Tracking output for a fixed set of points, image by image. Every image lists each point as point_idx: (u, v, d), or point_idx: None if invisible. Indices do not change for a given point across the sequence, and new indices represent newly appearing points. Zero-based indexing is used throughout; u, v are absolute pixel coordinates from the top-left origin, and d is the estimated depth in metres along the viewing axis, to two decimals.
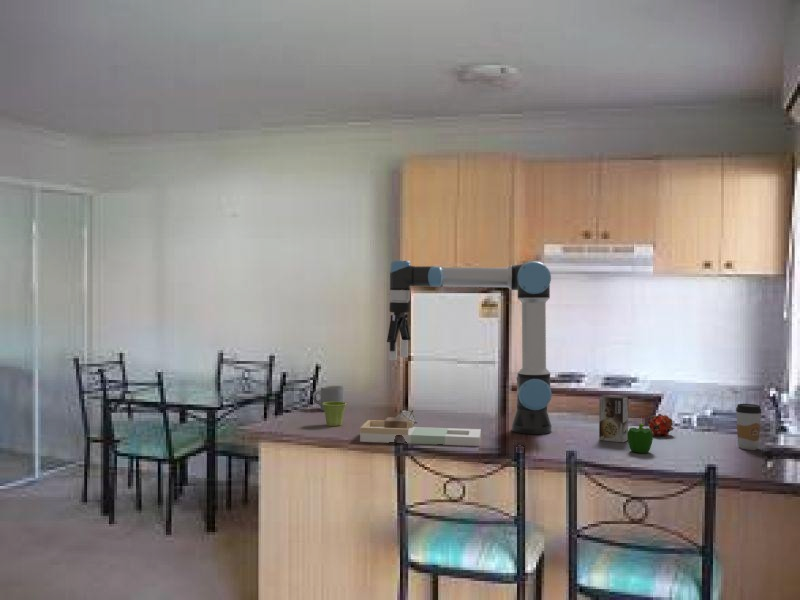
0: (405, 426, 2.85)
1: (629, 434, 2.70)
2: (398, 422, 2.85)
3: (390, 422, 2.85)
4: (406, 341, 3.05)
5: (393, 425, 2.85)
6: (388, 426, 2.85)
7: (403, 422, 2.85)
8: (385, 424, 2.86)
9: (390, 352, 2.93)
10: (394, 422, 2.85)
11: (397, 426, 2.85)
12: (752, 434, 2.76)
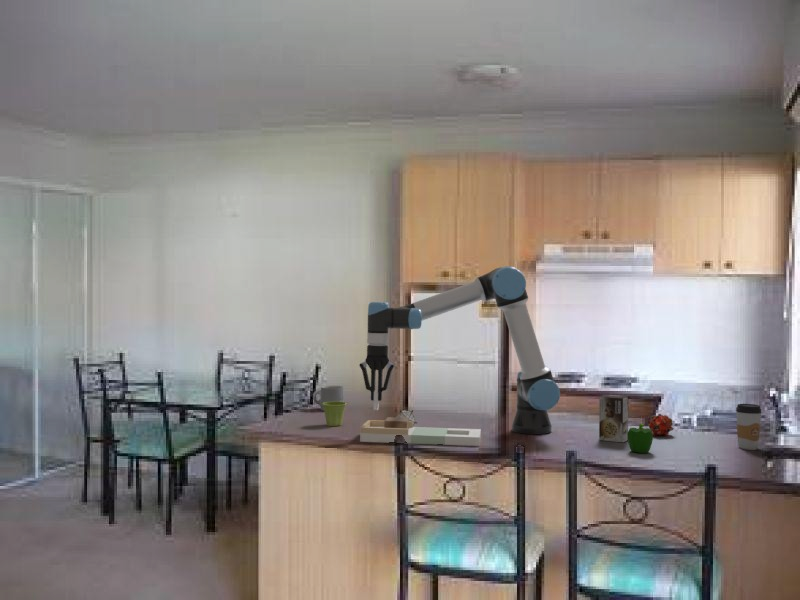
0: (405, 426, 2.85)
1: (629, 434, 2.70)
2: (398, 422, 2.85)
3: (390, 422, 2.85)
4: None
5: (393, 425, 2.85)
6: (388, 426, 2.85)
7: (403, 422, 2.85)
8: (385, 424, 2.86)
9: None
10: (394, 422, 2.85)
11: (397, 426, 2.85)
12: (752, 434, 2.76)
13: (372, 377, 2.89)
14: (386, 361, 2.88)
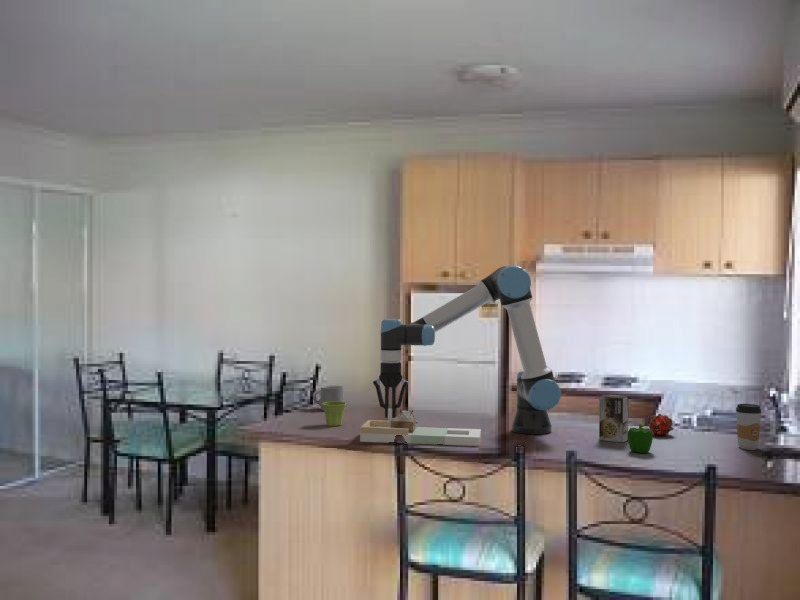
0: (411, 426, 2.84)
1: (629, 434, 2.70)
2: (404, 422, 2.85)
3: (396, 422, 2.85)
4: None
5: (399, 425, 2.85)
6: (394, 426, 2.85)
7: (409, 422, 2.84)
8: (391, 424, 2.85)
9: None
10: (400, 422, 2.85)
11: (403, 426, 2.85)
12: (752, 434, 2.76)
13: (386, 394, 2.88)
14: (400, 378, 2.88)
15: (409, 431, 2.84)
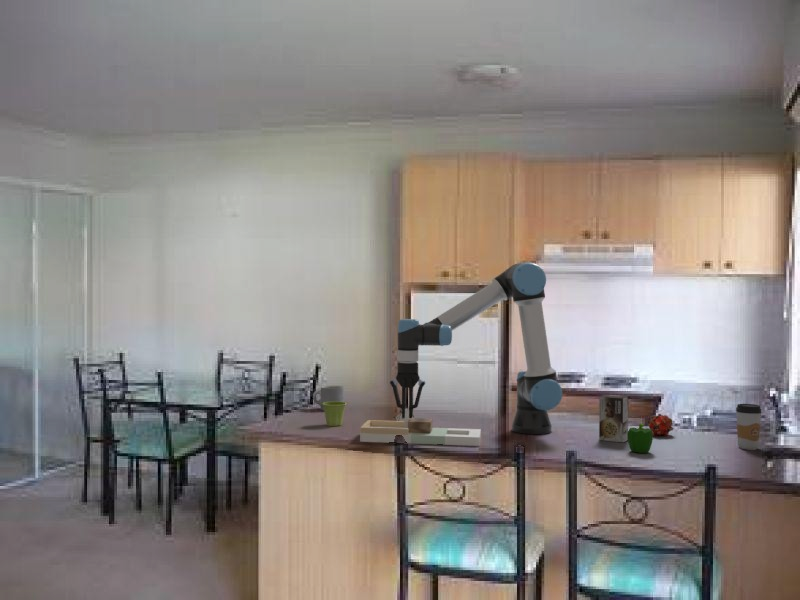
0: (429, 427, 2.84)
1: (629, 434, 2.70)
2: (422, 423, 2.84)
3: (414, 423, 2.84)
4: None
5: (417, 426, 2.84)
6: (412, 427, 2.84)
7: (427, 423, 2.84)
8: (409, 425, 2.84)
9: None
10: (418, 423, 2.84)
11: (421, 427, 2.84)
12: (752, 434, 2.76)
13: (403, 395, 2.87)
14: (417, 378, 2.87)
15: (426, 432, 2.84)
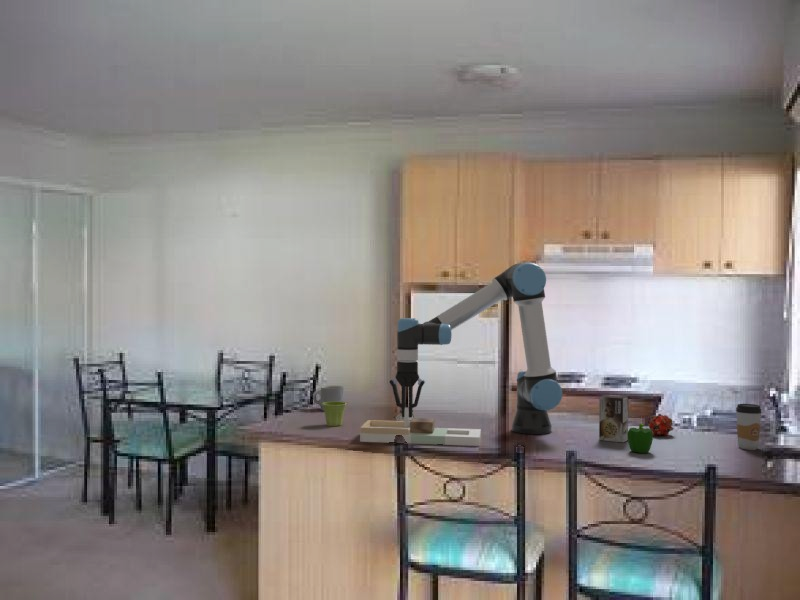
0: (431, 427, 2.83)
1: (629, 434, 2.70)
2: (424, 423, 2.84)
3: (416, 423, 2.84)
4: None
5: (419, 426, 2.84)
6: (414, 427, 2.84)
7: (429, 423, 2.83)
8: (411, 425, 2.84)
9: None
10: (420, 423, 2.84)
11: (423, 427, 2.84)
12: (752, 434, 2.76)
13: (402, 394, 2.87)
14: (416, 377, 2.87)
15: (428, 432, 2.84)
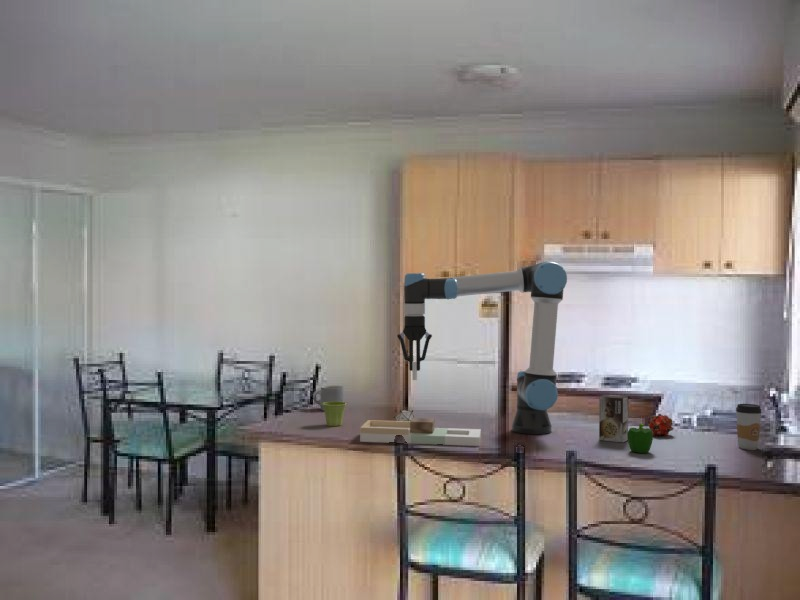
0: (431, 427, 2.83)
1: (629, 434, 2.70)
2: (424, 423, 2.84)
3: (416, 423, 2.84)
4: None
5: (419, 426, 2.84)
6: (414, 427, 2.84)
7: (429, 423, 2.83)
8: (411, 425, 2.84)
9: None
10: (420, 423, 2.84)
11: (423, 427, 2.84)
12: (752, 434, 2.76)
13: (410, 347, 2.92)
14: (424, 331, 2.91)
15: (428, 432, 2.84)
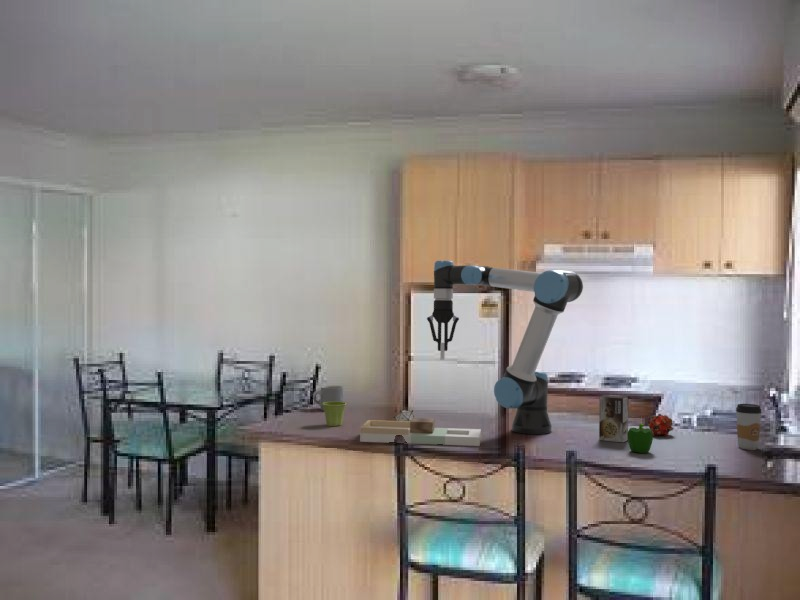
0: (431, 427, 2.83)
1: (629, 434, 2.70)
2: (424, 423, 2.84)
3: (416, 423, 2.84)
4: None
5: (419, 426, 2.84)
6: (414, 427, 2.84)
7: (429, 423, 2.83)
8: (411, 425, 2.84)
9: None
10: (420, 423, 2.84)
11: (423, 427, 2.84)
12: (752, 434, 2.76)
13: (439, 329, 3.15)
14: (451, 314, 3.15)
15: (428, 432, 2.84)
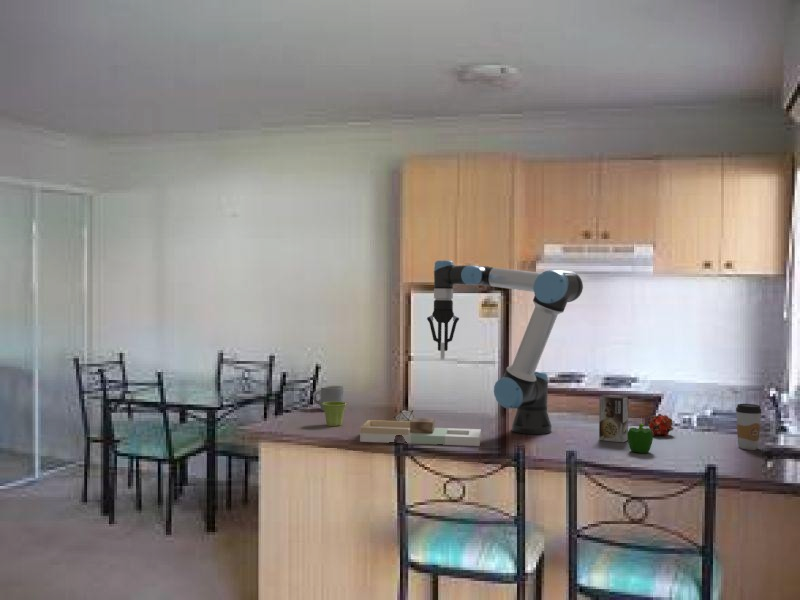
0: (431, 427, 2.83)
1: (629, 434, 2.70)
2: (424, 423, 2.84)
3: (416, 423, 2.84)
4: None
5: (419, 426, 2.84)
6: (414, 427, 2.84)
7: (429, 423, 2.83)
8: (411, 425, 2.84)
9: None
10: (420, 423, 2.84)
11: (423, 427, 2.84)
12: (752, 434, 2.76)
13: (439, 329, 3.15)
14: (452, 314, 3.15)
15: (428, 432, 2.84)
